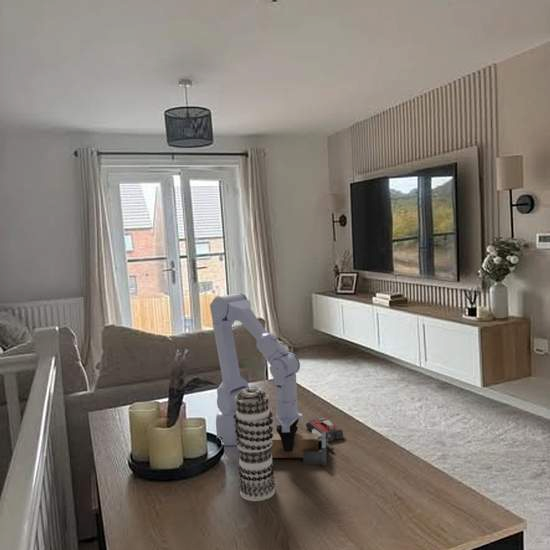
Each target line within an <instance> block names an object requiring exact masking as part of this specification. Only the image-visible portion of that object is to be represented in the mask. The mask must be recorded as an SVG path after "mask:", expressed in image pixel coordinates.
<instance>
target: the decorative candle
mask: <svg viewBox="0 0 550 550" xmlns="http://www.w3.org/2000/svg"><path fill="white" fill-rule="evenodd" d="M269 396H270V395H269V394H268V393H267V392H266V391H265V390H264V389H263V388H261V387H258V386H257V387H255V386H252V387H251V386H250V387H249V388H245V389H242V390H241V391H240V392H239V393H238V395H237V396H235V400H236V401H237V410H236V414H235V415H234V416H233V418H234V419H235V425H234V426H235V427H236V430H235V433H236V435H237V436H236V437H237V438H236V441H237V443H238V444H237V445H236V447H237V449H238V451H239V452H238V453H239V457H238V458H239V459H238V461H239V463H238V465H237V468H238V475H239V478H238V482H239V485H238V486H239V487H238V488H239V490H240V492H239V495H240V497H241V498H243V499H244V500H246V501H251V502H261V501H266V500H268V499H270V498H272V497H273V495H274V494H276V486H275V485H276V483H275V481H276V480H275V478H276V477H275V475H274V474H275V467H274V465H275V462H274V461H273V458H272V454H271V446H272V440H271V438H272V437H273V434H274V433H272V432H273V429H274V428H273V427H272V426H271V425H272V424H273V422H274V420H273V418H272V417H273V416H274V415H273V412H271V411H270V406H269ZM236 416H237V417H236ZM237 424H238V425H237ZM238 430H239V432H238ZM265 499H266V500H265Z"/></svg>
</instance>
